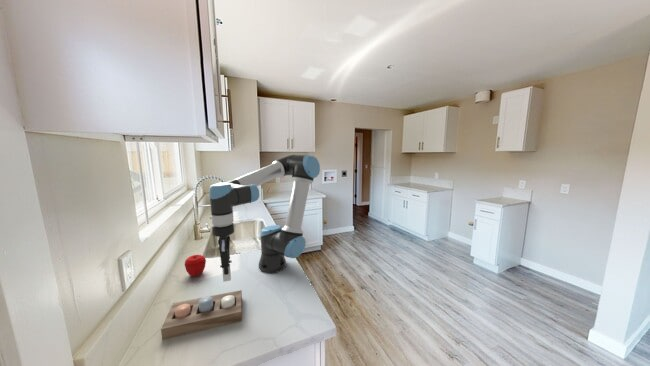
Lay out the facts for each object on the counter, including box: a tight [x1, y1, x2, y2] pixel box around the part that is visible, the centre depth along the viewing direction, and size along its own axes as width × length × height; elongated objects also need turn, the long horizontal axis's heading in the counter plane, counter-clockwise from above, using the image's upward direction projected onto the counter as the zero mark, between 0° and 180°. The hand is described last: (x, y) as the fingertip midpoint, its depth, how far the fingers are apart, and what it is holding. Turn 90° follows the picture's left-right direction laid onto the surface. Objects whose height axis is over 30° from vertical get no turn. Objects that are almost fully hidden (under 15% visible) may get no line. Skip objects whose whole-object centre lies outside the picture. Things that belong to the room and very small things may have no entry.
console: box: [160, 289, 243, 340], centre depth 89 cm, size 14×26×4 cm, turn 109°
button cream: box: [221, 295, 235, 309], centre depth 91 cm, size 5×5×5 cm
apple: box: [184, 254, 207, 278], centre depth 117 cm, size 10×10×11 cm
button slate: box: [198, 295, 214, 314], centre depth 88 cm, size 5×5×5 cm
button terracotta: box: [175, 304, 191, 319], centre depth 86 cm, size 5×5×5 cm
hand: (227, 280), depth 90 cm, fingers closed
